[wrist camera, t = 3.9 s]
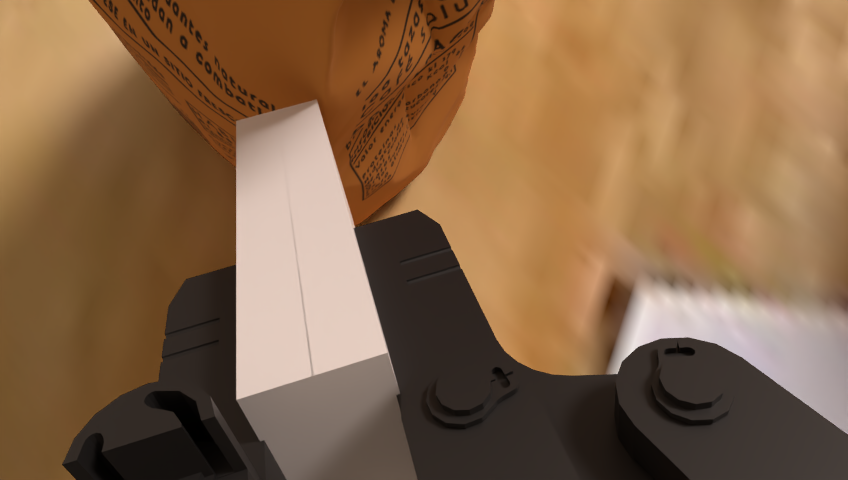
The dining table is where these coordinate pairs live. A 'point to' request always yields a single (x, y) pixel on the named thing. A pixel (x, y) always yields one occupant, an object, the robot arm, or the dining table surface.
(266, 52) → the coffee package
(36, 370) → the dining table surface
